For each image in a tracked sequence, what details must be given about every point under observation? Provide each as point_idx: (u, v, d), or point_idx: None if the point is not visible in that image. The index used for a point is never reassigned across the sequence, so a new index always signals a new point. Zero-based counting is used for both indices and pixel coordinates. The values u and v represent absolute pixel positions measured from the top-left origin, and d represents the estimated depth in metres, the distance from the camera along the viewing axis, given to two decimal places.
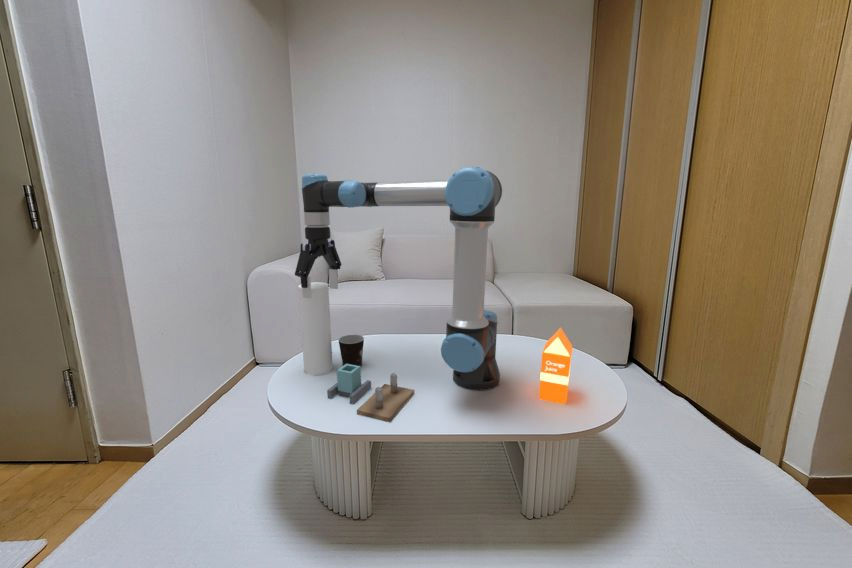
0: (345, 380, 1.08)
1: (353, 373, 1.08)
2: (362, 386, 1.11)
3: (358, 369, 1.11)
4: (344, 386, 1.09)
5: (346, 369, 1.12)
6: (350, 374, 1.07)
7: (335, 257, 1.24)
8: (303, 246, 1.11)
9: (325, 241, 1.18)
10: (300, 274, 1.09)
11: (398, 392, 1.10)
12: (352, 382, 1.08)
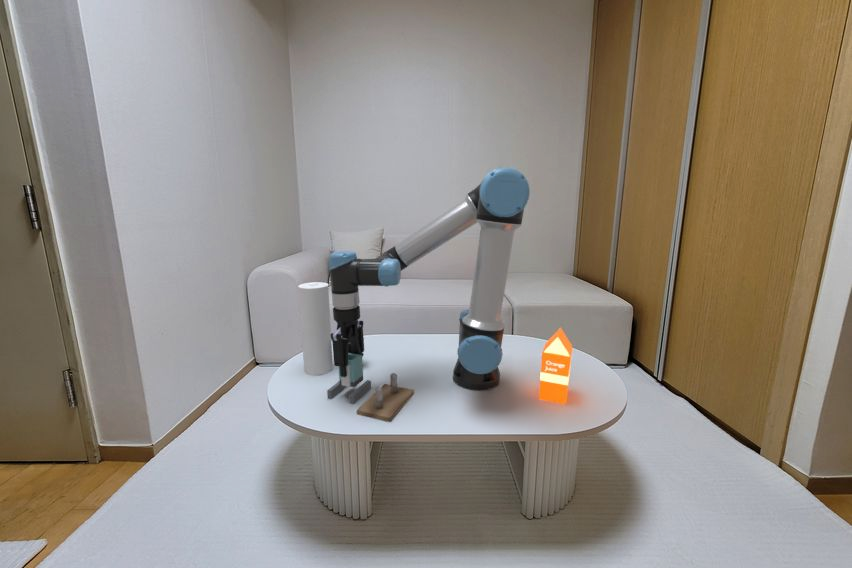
0: None
1: (354, 361, 1.07)
2: (362, 386, 1.11)
3: (359, 358, 1.10)
4: None
5: None
6: (351, 362, 1.07)
7: (360, 340, 1.13)
8: (334, 337, 1.02)
9: None
10: (340, 365, 1.04)
11: (398, 392, 1.10)
12: (353, 371, 1.07)
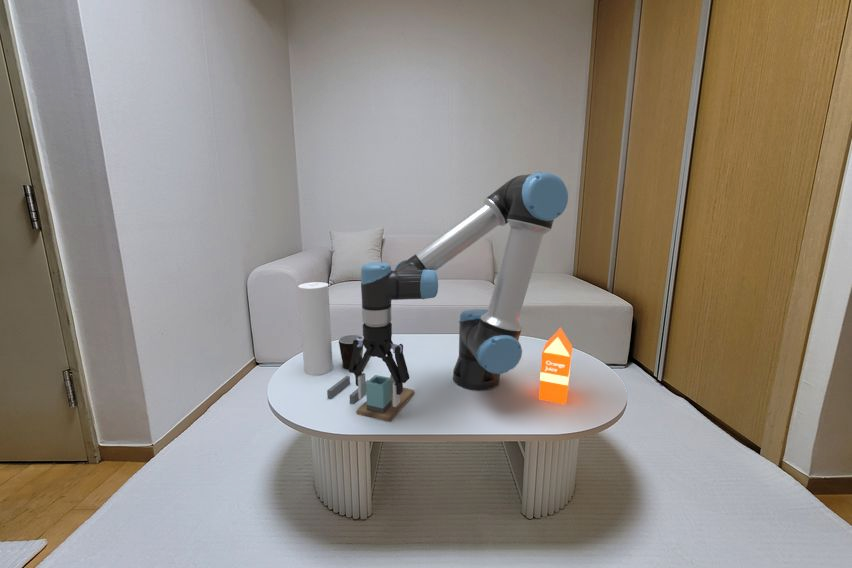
0: None
1: (369, 385, 0.99)
2: None
3: (378, 387, 0.98)
4: None
5: None
6: None
7: None
8: None
9: (382, 342, 0.96)
10: None
11: None
12: (367, 393, 1.00)
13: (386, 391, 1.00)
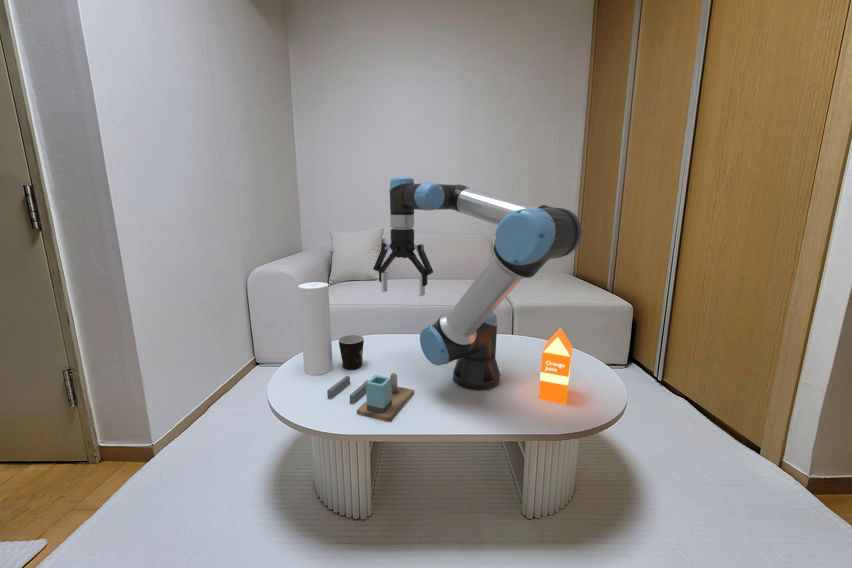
0: None
1: (369, 385, 0.99)
2: (362, 386, 1.11)
3: (378, 387, 0.98)
4: None
5: None
6: None
7: None
8: None
9: (407, 244, 1.17)
10: None
11: (398, 392, 1.10)
12: (367, 393, 1.00)
13: (386, 391, 1.00)
